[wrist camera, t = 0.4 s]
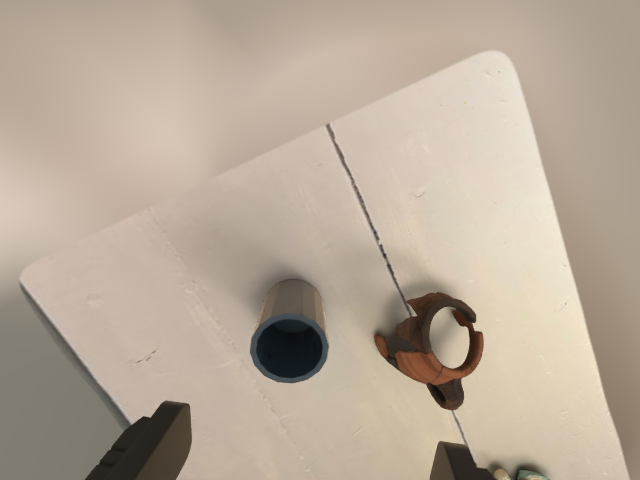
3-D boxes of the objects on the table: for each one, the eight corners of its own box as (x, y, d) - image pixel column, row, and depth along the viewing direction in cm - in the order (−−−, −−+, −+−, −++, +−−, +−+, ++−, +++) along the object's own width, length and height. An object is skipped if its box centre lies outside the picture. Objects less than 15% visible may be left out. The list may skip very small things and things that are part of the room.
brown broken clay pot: (354, 315, 34) (397, 318, 26) (414, 279, 38) (467, 272, 30) (401, 415, 33) (459, 446, 26) (457, 368, 37) (521, 384, 30)
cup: (253, 317, 33) (236, 363, 25) (281, 268, 32) (273, 300, 24) (304, 342, 34) (303, 394, 26) (334, 296, 33) (342, 336, 25)
